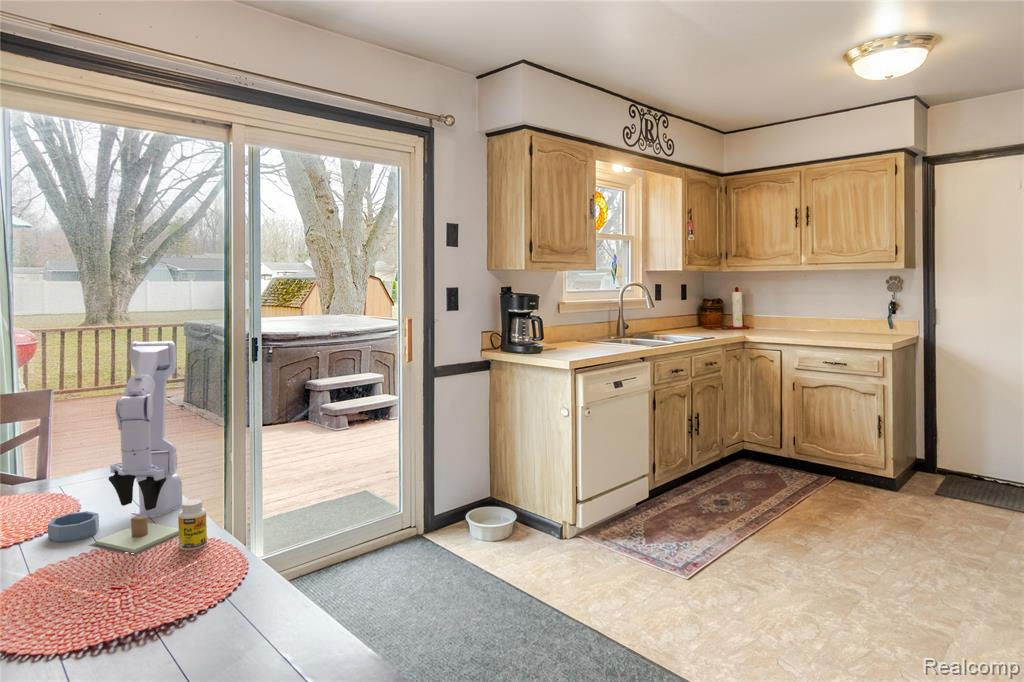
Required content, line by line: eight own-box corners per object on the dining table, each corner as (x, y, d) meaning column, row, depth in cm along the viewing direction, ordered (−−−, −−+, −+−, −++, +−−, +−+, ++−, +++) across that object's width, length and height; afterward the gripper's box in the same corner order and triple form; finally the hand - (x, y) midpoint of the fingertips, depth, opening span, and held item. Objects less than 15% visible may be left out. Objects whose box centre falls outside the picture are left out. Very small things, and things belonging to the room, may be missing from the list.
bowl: (80, 525, 148) (79, 509, 148) (107, 531, 145) (106, 515, 145) (40, 540, 140) (39, 523, 139) (67, 546, 137) (66, 529, 136)
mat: (145, 524, 150) (145, 522, 149) (188, 533, 145) (188, 531, 145) (88, 546, 136) (88, 545, 136) (133, 557, 132) (133, 555, 132)
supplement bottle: (180, 553, 134) (178, 508, 133) (178, 544, 138) (176, 500, 137) (208, 548, 137) (207, 503, 136) (205, 539, 141) (204, 496, 140)
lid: (144, 524, 148) (143, 505, 148) (181, 532, 144) (181, 512, 144) (96, 544, 137) (95, 523, 137) (134, 553, 133) (133, 531, 132)
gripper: (96, 449, 137) (99, 507, 139) (143, 456, 132) (145, 517, 134) (125, 441, 144) (128, 498, 145) (171, 448, 139) (173, 506, 140)
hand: (138, 506), depth 140 cm, fingers open, 7 cm apart
